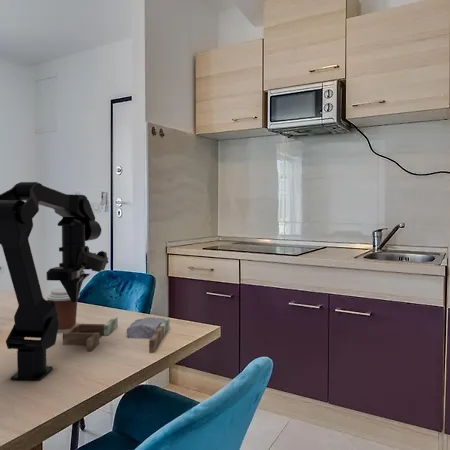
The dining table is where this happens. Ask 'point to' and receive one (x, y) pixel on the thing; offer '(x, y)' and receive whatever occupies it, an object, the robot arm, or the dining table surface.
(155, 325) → the stone block
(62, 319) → the coffee cup
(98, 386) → the dining table surface
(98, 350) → the dining table surface
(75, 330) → the channel
